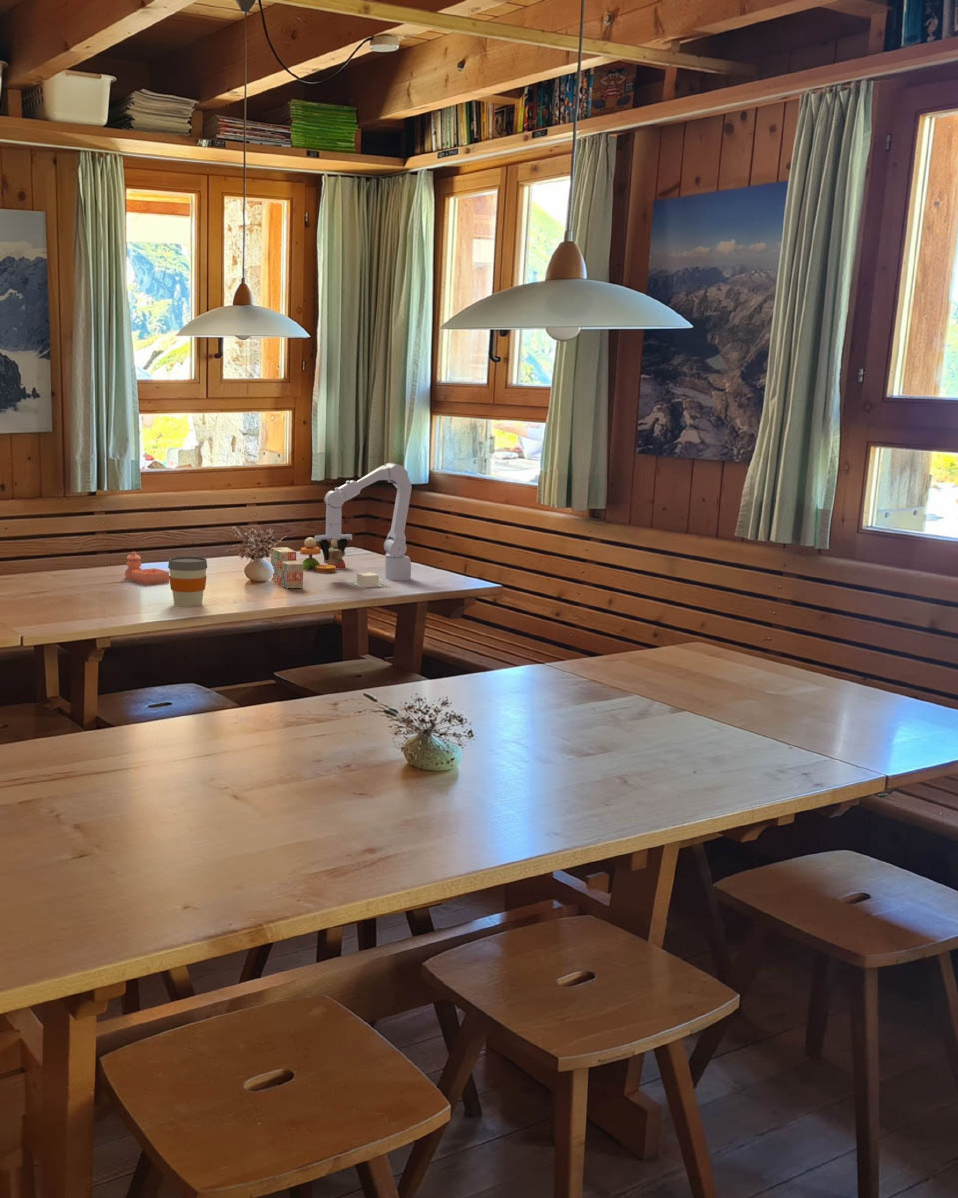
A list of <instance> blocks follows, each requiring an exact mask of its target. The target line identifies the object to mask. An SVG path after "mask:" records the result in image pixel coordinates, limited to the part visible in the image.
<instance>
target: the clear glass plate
mask: <svg viewBox="0 0 958 1198" xmlns="http://www.w3.org/2000/svg"><path fill="white" fill-rule="evenodd" d="M345 584H347V585H349V586H351V587H355V588H357V589H360V590H371V589H373V590H374V589H384V588H385V589H387V588H390V586H389V585H387V584H383V583H381V582H379V586H367V587H363V586H361V585H358V584H357V581H351V582H349V581H348V582H345Z"/></svg>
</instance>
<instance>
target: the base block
mask: <svg viewBox="0 0 958 1198" xmlns="http://www.w3.org/2000/svg"><path fill="white" fill-rule="evenodd" d="M379 581H380V575H379V574H377V573H373V572H358V573H356V582H357V584H358V585H361V586H363V587H367V586H379V583H380V582H379Z"/></svg>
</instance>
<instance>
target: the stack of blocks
mask: <svg viewBox="0 0 958 1198" xmlns="http://www.w3.org/2000/svg"><path fill="white" fill-rule="evenodd" d="M272 549H273V551H271V550H272ZM271 564H272V566H273V569H274V573H273V578H272V579H273V580H274V581H275V582H274V581H273V580H272V581H273V582H274V583H276V584H277V583H278V584H277V585H279V584H280V585H279V586H281V585H282V586H283V587H282V586H281V587H282V588H284V587H285V588H286V590H289V589H288V588H303V587H304V586H303V585H304V581H303V580H304V569H303V567H304V564H303V563H302V562H301V561H299V560H297V551H295V550H293V549H291V548H289V547H288V546H287V547H286V546H285V547H283V546H281V547H270V565H271ZM285 588H284V589H285Z"/></svg>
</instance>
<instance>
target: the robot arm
mask: <svg viewBox="0 0 958 1198" xmlns="http://www.w3.org/2000/svg"><path fill="white" fill-rule="evenodd" d="M380 480H381V481H382V480H383V481H384V480H385V481H390V482H391V483H392V484H393V486H394V488H396V490H397V491H396V497H395V502H394V507H393V513H392V514H393V515H392V519H391V528H390V530H389V532H388V533H387V537H386V539H385V541H384V542H383V548H384V551H385V552H386V553H385V561H384V564H385V565H384V576H383V575H382V576H380V578H381V579H384V580H386V581H390V582H391V581H392V582H393V581H406V580H409V581H411V580H412V578H411V577H412V576H411V575H412V562H411V558H410V557H409V556H408V555H405V554H406V552H407V549H408V547H407V544H406V540H407V537H406V535H405V530H406V524H407V518H408V513H409V508H410V507H409V506H410V500H411V493H412V489H413V488H412V483H411V479H410V477H409V472H408V470H407V469H406V468H405V467H404V466H403V465H401V464H396V463H393V462H388V463H385V464H383V465H381V466H379V467H377V468H375V469H374V470H373V471H371V472H369V473H368V474H366V475H365V476H363V477H361V478H360V479H358V480H357V481H356V480H353V479H352V480H349V479H348V480H346V481H345V484H343V485H341V486H339V487H335V488H334V490H329V491H327V493H325V496H324V498H323V501H324V503H325V504H326V505H325V506H326V507H325V510H326V511H325V534H319V535H318V534H317V535H314V539H315V541H316V542H318V544H319V546H320V550H321V551H322V556H323V561H324V560H328V558H329V549H330V545H331V542H329V541H332V540H337V546H338V550H341V551H342V558H343V557H344V556H343V553H344V551H345V550H346V548H347V546H348V545H349V541H353V534H350V533H345V534H344V533H342V507H343V505H344V503H345V502H347V501H349V500H351V499H352V498H354V497H356V496H358V495H360V494H361V493H360V492H361V490H362V489H364V488H365V487H367V486H369V485H372V484H374V483H376V482H378V481H380ZM333 538H340V539H333Z"/></svg>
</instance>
